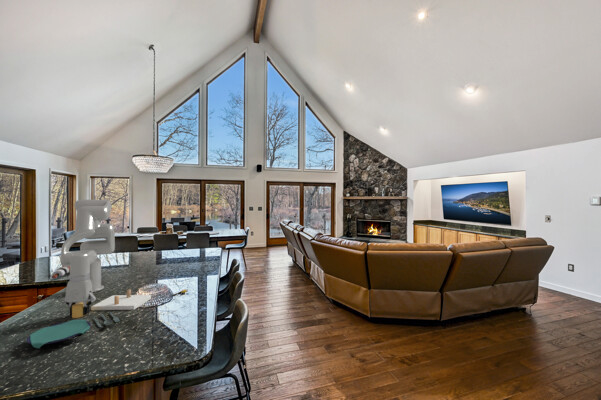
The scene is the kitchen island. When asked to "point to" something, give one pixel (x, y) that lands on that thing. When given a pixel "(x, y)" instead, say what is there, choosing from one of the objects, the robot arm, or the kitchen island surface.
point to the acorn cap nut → (77, 310)
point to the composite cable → (180, 292)
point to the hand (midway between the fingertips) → (79, 313)
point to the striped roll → (61, 271)
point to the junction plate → (121, 302)
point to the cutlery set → (63, 331)
